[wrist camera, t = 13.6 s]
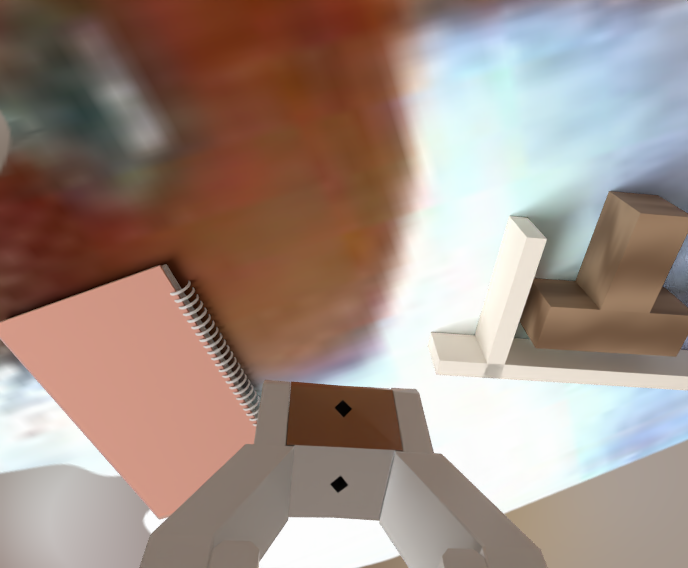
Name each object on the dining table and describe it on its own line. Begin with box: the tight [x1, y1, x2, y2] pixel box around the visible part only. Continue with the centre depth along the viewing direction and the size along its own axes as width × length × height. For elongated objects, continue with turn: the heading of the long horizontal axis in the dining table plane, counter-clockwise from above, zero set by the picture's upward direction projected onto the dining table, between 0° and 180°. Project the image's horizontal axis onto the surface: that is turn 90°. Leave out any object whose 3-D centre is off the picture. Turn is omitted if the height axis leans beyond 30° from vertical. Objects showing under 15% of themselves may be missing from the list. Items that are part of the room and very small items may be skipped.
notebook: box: [0, 264, 260, 519], centre depth 48 cm, size 27×17×2 cm, turn 20°
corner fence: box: [428, 216, 688, 390], centre depth 42 cm, size 13×26×4 cm, turn 84°
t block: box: [520, 191, 688, 357], centre depth 40 cm, size 12×12×4 cm
